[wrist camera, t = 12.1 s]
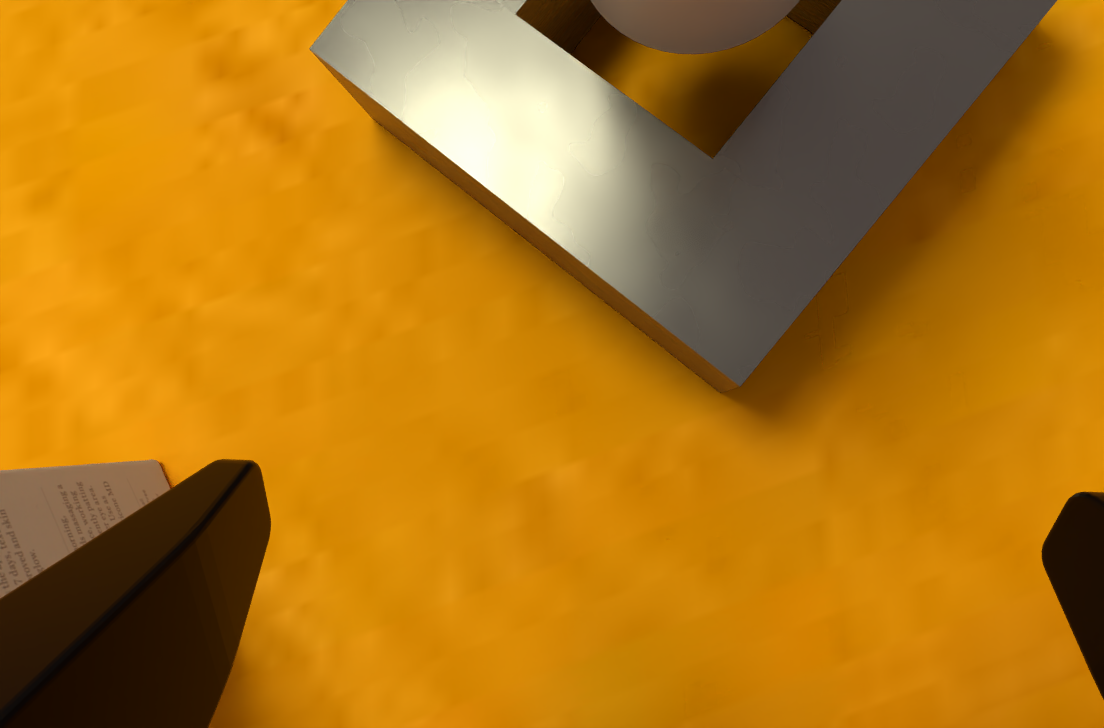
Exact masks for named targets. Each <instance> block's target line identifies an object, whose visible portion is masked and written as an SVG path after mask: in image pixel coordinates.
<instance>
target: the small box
mask: <svg viewBox="0 0 1104 728" xmlns="http://www.w3.org/2000/svg"><path fill="white" fill-rule="evenodd" d="M168 490H170V487H169V484H168V482H167V480H166V478H165V475H164V473H163V471H162V468H161V466H160V464H159V463H158V461H156V460H145V461H129V462H115V463H100V464H87V465H74V466H58V467H45V468H29V469H16V470H1V471H0V598H1V597H3V596H5V595H6V594H8V593H9V592H11V591H12V590H14V589H16V588H17V587H19V586H20V585H22V584H23V583H25V582H26V581H28V580H30V579H31V578H33V577H34V576H36V575H37V574H39V573H40V572H42V571H44V570H45V569H47V568H48V567H50V566H51V565H53V564H54V563H56V562H58V561H59V560H61V559H62V558H64V557H65V556H67V555H68V554H70V553H72V552H73V551H75V550H76V549H78V548H79V547H81V546H82V545H84V544H86V543H87V542H89V541H90V540H92V539H93V538H95V537H97V536H98V535H100V534H101V533H103V532H104V531H106V530H107V529H109V528H111V527H112V526H114V525H115V524H117V523H118V522H120V521H121V520H123V519H125V518H126V517H128V516H129V515H131V514H132V513H134V512H135V511H137V510H139V509H140V508H142V507H143V506H145V505H146V504H148V503H149V502H151V501H153V500H154V499H156V498H157V497H159V496H160V495H162V494H164V493H165V492H167V491H168Z"/></svg>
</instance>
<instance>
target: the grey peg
mask: <svg viewBox="0 0 1104 728" xmlns="http://www.w3.org/2000/svg"><path fill="white" fill-rule="evenodd" d="M591 2H592V3H593V5H594V6H595V8H596V9H597V10H598V12H599V13H600V14H601V15H602V16H603V17H604V18H605V19H606V21H607V22H608V23H609V24H611V25H612V26H613V27H614V28H616V29H617V30H618V31H619V32H620V33H622V34H624V35H625V36H627V37H629V38H630V39H632V40H634V41H636V42H638V43H640V44H643V45H645V46H647V47H650V48H654V49H657V50H661V51H665V52H671V53H678V54H702V53H712V52H717V51H721V50H726V49H729V48H732V47H735V46H738V45H741V44H744V43H746V42H748V41H750V40H752V39H754V38H756V37H758V36H760V35H761V34H763V33H764V32H766V31H767V30H769V29H770V28H772V27H773V26H774V25H776V24H777V23H778V22H779V21H780V20H782V19H783V18H784V17H785V16H786V15H787V14H788V13H789V12H790V11H791V10H792V9H793V8H794V6H795V5H796V4H797V3H798V2H799V0H591Z"/></svg>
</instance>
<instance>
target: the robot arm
mask: <svg viewBox="0 0 1104 728" xmlns="http://www.w3.org/2000/svg"><path fill="white" fill-rule="evenodd" d="M270 530H271V518H270V512H269V507H268V502H267V497H266V492H265V487H264V482H263V477H262V473H261V469H260V467H259V466H258V464H257V463H255V462H254V461H251V460H230V459H221V460H216V461H214V462H212V463H210V464H209V465H207V466H206V467H204V468H202V469H201V470H199V471H198V472H196V473H195V474H193V475H192V476H190V477H188V478H187V479H185V480H184V481H182V482H181V483H179V484H178V485H176V486H174V487H173V488H171V489H170V490H168V491H167V492H165V493H164V494H162V495H160V496H159V497H157V498H156V499H154V500H153V501H151V502H149V503H148V504H146V505H145V506H143V507H142V508H140V509H139V510H137V511H135V512H134V513H132V514H131V515H129V516H128V517H126V518H125V519H123V520H121V521H120V522H118V523H117V524H115V525H114V526H112V527H111V528H109V529H107V530H106V531H104V532H103V533H101V534H100V535H98V536H97V537H95V538H93V539H92V540H90V541H89V542H87V543H86V544H84V545H82V546H81V547H79V548H78V549H76V550H75V551H73V552H72V553H70V554H68V555H67V556H65V557H64V558H62V559H61V560H59V561H58V562H56V563H54V564H53V565H51V566H50V567H48V568H47V569H45V570H44V571H42V572H40V573H39V574H37V575H36V576H34V577H33V578H31V579H30V580H28V581H26V582H25V583H23V584H22V585H20V586H19V587H17V588H16V589H14V590H12V591H11V592H9V593H8V594H6V595H5V596H3V597H1V598H0V728H208V727H209V724H210V722H211V719H212V717H213V715H214V712H215V710H216V707H217V705H218V702H219V700H220V697H221V695H222V693H223V690H224V687H225V685H226V682H227V679H228V677H229V674H230V672H231V669H232V666H233V662H234V659H235V656H236V653H237V650H238V646H239V643H240V639H241V636H242V632H243V629H244V625H245V622H246V618H247V615H248V611H249V608H250V604H251V601H252V597H253V594H254V590H255V587H256V583H257V580H258V576H259V573H260V569H261V566H262V562H263V559H264V555H265V552H266V548H267V545H268V541H269V537H270ZM1042 561H1043V565H1044V568H1045V571H1046V573H1047V575H1048V577H1049V580H1050V582H1051V584H1052V586H1053V589H1054V591H1055V593H1056V595H1057V598H1058V600H1059V602H1060V605H1061V607H1062V609H1063V611H1064V614H1065V616H1066V618H1067V620H1068V623H1069V625H1070V627H1071V629H1072V632H1073V634H1074V636H1075V638H1076V641H1077V643H1078V645H1079V647H1080V650H1081V652H1082V654H1083V656H1084V659H1085V661H1086V663H1087V666H1088V668H1089V670H1090V672H1091V674H1092V677H1093V679H1094V681H1095V683H1096V685H1097V687H1098V689H1099V691H1100V694H1101V696H1102V698H1103V699H1104V493H1103V492H1080V493H1076V494H1074V495H1073V496H1072V497H1070V498H1069V499H1068V501H1067V502H1066V504H1065V505H1064V507H1063V509H1062V511H1061V513H1060V514H1059V516H1058V518H1057V520H1056V521H1055V523H1054V525H1053V527H1052V529H1051V530H1050V532H1049V534H1048V536H1047V538H1046V539H1045V541H1044V544H1043V547H1042Z"/></svg>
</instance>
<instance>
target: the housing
mask: <svg viewBox="0 0 1104 728" xmlns="http://www.w3.org/2000/svg"><path fill="white" fill-rule="evenodd" d="M1056 1H1057V0H799V2H798V3H797V4H796V5H795V6H794V8H793V9H792V10H791V11H790V12H789V13H788V14H787V16H788V17H790V18H791V19H793V20H794V21H796V22H797V23H799V24H800V25H802V26H803V27H804V28H806V29H807V30H809V31H810V32H812V33H813V34H814V35H813V36H812V37H811V39H810V40H809V41H808V42H807V44H806V45H805V46H804V47H803V49H802V50H801V51H800V52H799V53H798V55H797V56H796V57H795V58H794V60H793V61H792V62H791V63H790V65H789V66H788V67H787V68H786V70H785V71H784V72H783V73H782V74H781V76H780V77H779V78H778V79H777V81H776V82H775V83H774V84H773V86H772V87H771V88H770V89H769V90H768V92H767V93H766V94H765V95H764V97H763V98H762V99H761V100H760V102H759V103H758V104H757V105H756V106H755V108H754V109H753V110H752V111H751V113H750V114H749V115H748V116H747V118H746V119H745V120H744V121H743V122H742V124H741V125H740V126H739V127H738V129H737V130H736V131H735V132H734V134H733V135H732V136H731V137H730V138H729V140H728V141H727V142H726V143H725V145H724V146H723V147H722V148H721V150H720V151H719V152H718V153H717V155H716V156H715V157H714V158H713V159H712V158H711V157H710V156H708V155H707V154H705V153H704V152H703V151H701V150H700V149H699V148H697V147H696V146H694V145H693V144H692V143H690V142H689V141H688V140H686V139H685V138H684V137H682V136H681V135H679V134H678V133H677V132H675V131H674V130H673V129H671V128H670V127H668V126H667V125H666V124H664V123H663V122H662V121H660V120H659V119H658V118H656V117H655V116H653V115H652V114H651V113H649V112H648V111H647V110H645V109H644V108H642V107H641V106H640V105H638V104H637V103H636V102H634V101H633V100H632V99H630V98H629V97H627V96H626V95H625V94H623V93H622V92H621V91H619V90H618V89H616V88H615V87H614V86H612V85H611V84H610V83H608V82H607V81H606V80H604V79H603V78H601V77H600V76H599V75H597V74H596V73H595V72H593V71H592V70H590V69H589V68H588V67H586V66H585V65H584V64H582V63H581V62H580V61H578V60H577V59H575V58H574V57H573V56H571V55H570V53H571V52H572V51H573V50H574V48H575V47H576V46H577V45H578V43H579V42H580V41H581V40H582V39H583V37H584V36H585V35H586V34H587V32H588V31H589V30H590V29H591V27H592V26H593V25H594V24H595V22H596V21H597V20H598V19H599V17H600V16H601V14H600V13H599V12H598V10H597V9H596V8H595V6H594V5H593V3H592V2H591V0H348V1H347V2H346V3H345V5H344V6H343V7H342V8H341V10H340V11H339V12H338V13H337V15H336V16H335V17H334V18H333V20H332V21H331V22H330V23H329V25H328V26H327V27H326V29H325V30H324V31H323V32H322V34H321V35H320V36H319V37H318V39H317V40H316V41H315V42H314V44H313V45H312V46H311V47H310V50H311V51H312V52H313V54H314V55H315V56H316V57H317V58H318V59H319V60H320V61H321V62H322V63H323V65H324V66H325V67H326V68H327V69H328V70H329V71H330V72H331V73H332V75H333V76H334V77H335V78H336V79H337V80H338V81H339V82H340V83H341V84H342V86H343V87H344V88H345V89H346V90H347V91H348V92H349V93H350V94H351V95H352V97H353V98H354V99H355V100H356V101H357V102H358V103H359V104H360V105H361V106H362V108H363V109H364V110H365V111H366V112H367V113H368V114H369V115H370V116H371V117H372V118H373V119H374V120H375V121H377V122H378V123H379V124H380V125H382V126H383V127H384V128H385V129H387V130H388V131H389V132H390V133H392V134H393V135H394V136H396V137H397V138H398V139H399V140H401V141H402V142H403V143H404V144H406V145H407V146H408V147H409V148H411V149H412V150H413V151H415V152H416V153H417V154H418V155H420V156H421V157H422V158H423V159H425V160H426V161H427V162H428V163H430V164H431V165H432V166H434V167H435V168H436V169H437V170H439V171H440V172H441V173H442V174H444V175H445V176H446V177H447V178H449V179H450V180H451V181H453V182H454V183H455V184H456V185H458V186H459V187H460V188H461V189H463V190H464V191H465V192H466V193H468V194H469V195H470V196H471V197H473V198H474V199H475V200H477V201H478V202H479V203H480V204H482V205H483V206H484V207H485V208H487V209H488V210H489V211H490V212H492V213H493V214H494V215H496V216H497V217H498V218H499V219H501V220H502V221H503V222H504V223H506V224H507V225H508V226H509V227H511V228H512V229H513V230H515V231H516V232H517V233H518V234H520V235H521V236H522V237H523V238H525V239H526V240H527V241H528V242H530V243H531V244H532V245H534V246H535V247H536V248H537V249H539V250H540V251H541V252H542V253H544V254H545V255H546V256H547V257H549V258H550V259H551V260H553V261H554V262H555V263H556V264H558V265H559V266H560V267H561V268H563V269H564V270H565V271H566V272H568V273H569V274H570V275H572V276H573V277H574V278H575V279H577V280H578V281H579V282H580V283H582V284H583V285H584V286H585V287H587V288H588V289H589V290H591V291H592V292H593V293H594V294H596V295H597V296H598V297H599V298H601V299H602V300H603V301H604V302H606V303H607V304H608V305H610V306H611V307H612V308H613V309H615V310H616V311H617V312H618V313H620V314H621V315H622V316H623V317H625V318H626V319H627V320H629V321H630V322H631V323H632V324H634V325H635V326H636V327H637V328H639V329H640V330H641V331H642V332H644V333H645V334H646V335H648V336H649V337H650V338H651V339H653V340H654V341H655V342H656V343H658V344H659V345H660V346H661V347H663V348H664V349H665V350H667V351H668V352H669V353H670V354H672V355H673V356H674V357H675V358H677V359H678V360H679V361H680V362H682V363H683V364H684V365H686V366H687V367H688V368H689V369H691V370H692V371H693V372H694V373H696V374H697V375H698V376H699V377H701V378H702V379H703V380H705V381H706V382H707V383H708V384H710V385H711V386H712V387H713V388H715V389H716V390H717V391H718V392H720V393H722V392H725V391H729V390H732V389H735V388H738V387H740V386H741V385H742V384H743V383H744V381H745V380H746V379H747V378H748V377H749V375H750V374H751V373H752V372H753V370H754V369H755V368H756V367H757V366H758V364H759V363H760V362H761V361H762V359H763V358H764V357H765V356H766V355H767V353H768V352H769V351H770V350H771V349H772V347H773V346H774V345H775V344H776V342H777V341H778V340H779V339H780V338H781V336H782V335H783V334H784V333H785V331H786V330H787V329H788V328H789V327H790V325H791V324H792V323H793V322H794V320H795V319H796V318H797V317H798V316H799V314H800V313H801V312H802V311H803V310H804V308H805V307H806V306H807V305H808V303H809V302H810V301H811V300H812V299H813V297H814V296H815V295H816V294H817V292H818V291H819V290H820V289H821V288H822V286H823V285H824V284H825V283H826V281H827V280H828V279H829V278H830V277H831V275H832V274H833V273H834V272H835V271H836V269H837V268H838V267H839V266H840V264H841V263H842V262H843V261H844V260H845V258H846V257H847V256H848V255H849V253H850V252H851V251H852V250H853V249H854V247H855V246H856V245H857V244H858V242H859V241H860V240H861V239H862V238H863V236H864V235H865V234H866V233H867V231H868V230H869V229H870V228H871V227H872V225H873V224H874V223H875V222H876V221H877V219H878V218H879V217H880V216H881V214H882V213H883V212H884V211H885V210H886V208H887V207H888V206H889V205H890V203H891V202H892V201H893V200H894V199H895V197H896V196H897V195H898V194H899V192H900V191H901V190H902V189H903V188H904V186H905V185H906V184H907V183H908V182H909V180H910V179H911V178H912V177H913V175H914V174H915V173H916V172H917V171H918V169H919V168H920V167H921V166H922V164H923V163H924V162H925V161H926V160H927V158H928V157H929V156H930V155H931V153H932V152H933V151H934V150H935V149H936V147H937V146H938V145H939V144H940V143H941V141H942V140H943V139H944V138H945V136H946V135H947V134H948V133H949V132H950V130H951V129H952V128H953V127H954V125H955V124H956V123H957V122H958V121H959V119H960V118H961V117H962V116H963V114H964V113H965V112H966V111H967V110H968V108H969V107H970V106H971V105H972V104H973V102H974V101H975V100H976V99H977V97H978V96H979V95H980V94H981V93H982V91H983V90H984V89H985V88H986V86H987V85H988V84H989V83H990V82H991V80H992V79H993V78H994V77H995V75H996V74H997V73H998V72H999V71H1000V69H1001V68H1002V67H1003V66H1004V64H1005V63H1006V62H1007V61H1008V60H1009V58H1010V57H1011V56H1012V55H1013V54H1014V52H1015V51H1016V50H1017V49H1018V47H1019V46H1020V45H1021V44H1022V43H1023V41H1024V40H1025V39H1026V38H1027V36H1028V35H1029V34H1030V33H1031V32H1032V30H1033V29H1034V28H1035V27H1036V25H1037V24H1038V23H1039V22H1040V21H1041V19H1042V18H1043V17H1044V16H1045V15H1046V13H1047V12H1048V11H1049V10H1050V8H1051V7H1052V6H1053V5H1054V4H1055V2H1056Z"/></svg>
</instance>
